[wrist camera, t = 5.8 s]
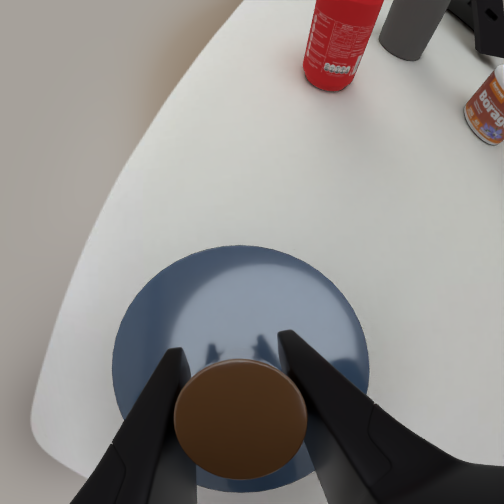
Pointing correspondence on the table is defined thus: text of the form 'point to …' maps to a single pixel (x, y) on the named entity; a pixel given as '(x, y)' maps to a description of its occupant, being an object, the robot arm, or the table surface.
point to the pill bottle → (488, 108)
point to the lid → (238, 358)
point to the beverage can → (338, 41)
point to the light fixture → (483, 23)
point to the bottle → (411, 26)
